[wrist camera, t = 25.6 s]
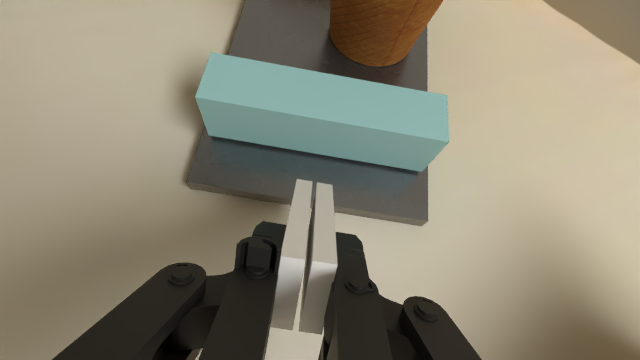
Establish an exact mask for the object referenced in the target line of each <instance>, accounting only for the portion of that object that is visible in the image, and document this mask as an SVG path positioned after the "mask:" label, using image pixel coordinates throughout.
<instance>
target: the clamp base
mask: <svg viewBox="0 0 640 360" xmlns="http://www.w3.org/2000/svg"><path fill="white" fill-rule="evenodd" d="M330 3H331V2H330V0H246V1H245V4H244V7H243V10H242V13H241V16H240V19H239V22H238V25H237V28H236V32H235V35H234V38H233V41H232V44H231V47H230V50H229V53H228V55H229V56H235V57H240V58H246V59H251V60H256V61H262V62H267V63H273V64H278V65H284V66H289V67H295V68H300V69H306V70H311V71H316V72H322V73H327V74H333V75H338V76H344V77H349V78H355V79H360V80H366V81H371V82H377V83H382V84H387V85H393V86H398V87H404V88H409V89H415V90H420V91H426V92H427V25H426V27H425V28H424V30H423V31H422V33H421V34H420V36H419V37H418V39H417V40H416V42H415V43H414V45H413V46H412V48H411V50H410V51H409V53H408V54H407V56H406V57H405V58H403V59H402V60H401V61H399V62H397V63H395V64H392V65H388V66H381V67H377V66H368V65H363V64H361V63H358V62H355V61H353V60H351V59H349V58H347V57H346V56H345V55H343V54H342V53H341V52H340V51H339V50H338V49H337V48H336V47H335V45H334V43H333V42H332V40H331V37H330V30H329V26H330ZM297 179H301V180H307V181H313V182H312V193H311V204H310V208H312V207H313V201H314V196H315V190H316V185H317V182H319V183H325V184H331V185H333V201H334V212H338V213H344V214H350V215H356V216H363V217H369V218H375V219H381V220H387V221H393V222H399V223H406V224H412V225H418V226H422V225H424V224H425V223H426V222H428V166H427V167H426V168H425V169H424V170H423V171H422V172H420V171H414V170H408V169H403V168H397V167H391V166H385V165H379V164H373V163H367V162H362V161H356V160H350V159H344V158H338V157H332V156H326V155H321V154H315V153H309V152H303V151H297V150H291V149H286V148H280V147H274V146H268V145H262V144H256V143H250V142H245V141H239V140H233V139H227V138H221V137H215V136H210V135H208V132H207V129H206V127H205V126H204V129H203V132H202V136H201V139H200V142H199V145H198V148H197V151H196V154H195V157H194V160H193V163H192V166H191V169H190V172H189V175H188V178H187V181H186V182H187V183H188V185H189V187H190V188H191V189H197V190H203V191H209V192H215V193H221V194H227V195H234V196H240V197H246V198H252V199H258V200H264V201H270V202H277V203H283V204H289V205H291V204H292V199H293V195H294V190H295V186H296V181H297Z"/></svg>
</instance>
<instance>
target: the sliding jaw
mask: <svg viewBox="0 0 640 360" xmlns="http://www.w3.org/2000/svg"><path fill="white" fill-rule="evenodd" d="M195 99H196V101H197V104H198V107H199V110H200V113H201V115H202V118H203V121H204V124H205V127H206V129H207V132H208V135H210V136H215V137H221V138H227V139H233V140H239V141H245V142H250V143H256V144H262V145H268V146H274V147H280V148H286V149H291V150H297V151H303V152H309V153H315V154H321V155H326V156H332V157H338V158H344V159H350V160H356V161H362V162H367V163H373V164H379V165H385V166H391V167H397V168H403V169H408V170H414V171H420V172H422V171H423V170H424V169H425V168H426V167H427V166H428V164H429V163H430V162H431V161H432V160H433V159H434V158H435V157H436V156H437V155H438V153H439V152H440V151H441V150H442V149H443V148H444V147H445V146H446V145H447V144H448V142H449V129H448V100H447V95H442V94H437V93H431V92H426V91H420V90H415V89H409V88H404V87H398V86H393V85H387V84H382V83H377V82H371V81H366V80H360V79H355V78H349V77H344V76H338V75H333V74H327V73H322V72H316V71H311V70H306V69H300V68H295V67H289V66H284V65H278V64H273V63H267V62H262V61H256V60H251V59H246V58H240V57H235V56H229V55H224V54H218V53H213V52H211V54H210V57H209V59H208V62H207V65H206V68H205V71H204V73H203V76H202V79H201V82H200V85H199V87H198V90H197V93H196V96H195Z"/></svg>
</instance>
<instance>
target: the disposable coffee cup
mask: <svg viewBox="0 0 640 360" xmlns="http://www.w3.org/2000/svg"><path fill="white" fill-rule="evenodd" d="M330 2H331V3H330V26H329V30H330V37H331V40H332V42H333V43H334V45H335V47H336V48H337V49H338V50H339V51H340V52H341V53H342V54H343V55H345V56H346V57H347V58H349V59H351V60H353V61H355V62H358V63H361V64H363V65H368V66H377V67H381V66H388V65H392V64H395V63H397V62H399V61H401V60H402V59H403V58H405V57H406V56H407V54H408V53H409V51H410V50H411V48H412V46H413V45H414V43H415V42H416V40H417V39H418V37H419V36H420V34H421V33H422V31H423V30H424V28H425V27H426V25H427V24H428V22H429V21H430V19H431V18H432V16H433V15H434V14H435V12H436V11H437V9H438V8H439V6H440V5H441V3H442V2H443V0H330Z"/></svg>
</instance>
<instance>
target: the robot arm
mask: <svg viewBox="0 0 640 360" xmlns="http://www.w3.org/2000/svg"><path fill="white" fill-rule="evenodd" d="M312 182H313V181H307V180H301V179H297V181H296V186H295V190H294V195H293V199H292V204H291V208H290V213H289V218H288V222H287V225H284V224H277V223H271V222H265V221H263V222H261V223H260V224H259V225H257V226H256V227H255V229H254V232H253V235H252V237H247V238H245V239H243V240H241V241H240V242H239V243H238V244H237V249H236V259H235V268H234V271H232V272H230V273H227V274H223V275H215V276H206V272H205V271H204V269H203V268H202V267H200V266H198V265H196V264H192V263H176V264H172V265H169V266H167V267H165V268H163V269H162V270H160V271H159V272H158V273H156V274H155V275H154V276H153V277H152V278H150V279H149V280H148V281H147V282H146V283H144V284H143V285H142V286H141V287H139V288H138V289H137V290H136V291H135V292H133V293H132V294H131V295H130V296H129V297H127V298H126V299H125V300H124V301H123V302H121V303H120V304H119V305H118V306H116V307H115V308H114V309H113V310H112V311H110V312H109V313H108V314H107V315H106V316H104V317H103V318H102V319H101V320H99V321H98V322H97V323H96V324H95V325H93V326H92V327H91V328H90V329H89V330H87V331H86V332H85V333H84V334H83V335H81V336H80V337H79V338H78V339H76V340H75V341H74V342H73V343H72V344H70V345H69V346H68V347H67V348H66V349H64V350H63V351H62V352H61V353H59V354H58V355H57V356H56V357H55V358H53V359H52V360H195V358H196V357H197V355H198V354H199V352H200V350H201V348H203V350H202V352H201V355H200V357H199V360H264V359H265V353H266V347H267V342H268V336H269V329H270V327H273V328H280V329H287V330H292V329H293V324H294V318H295V313H296V308H297V302H298V297H299V292H300V286H301V281H302V276H303V270H304V280H303V291H302V302H301V313H300V323H299V331H301V332H308V333H315V334H322V331H323V327H324V337H323V341H322V346H321V350H320V354H319V359H318V360H482V359H481V358H480V357H479V355H478V354H477V353H476V351H475V350H474V349H473V347H472V346H471V345H470V343H469V342H468V341H467V339H466V338H465V337H464V335H463V334H462V333H461V331H460V330H459V329H458V327H457V326H456V325H455V323H454V322H453V321H452V319H451V318H450V317H449V315H448V314H447V313H446V311H445V310H444V309H443V308H442V307H441V306H440V305H438V304H437V303H435V302H434V301H432V300H429V299H427V298H424V297H417V296H414V297H409V298H407V299H406V300H405V301H404V304H403V305H401V304H399V303H396V302H393V301H391V300H389V299H386V298H384V297H383V296H381V295H380V294H379V292H378V288H377V286H376V284H375V283H374V282H373V281H372V280H370V279H369V275H368V270H367V265H366V260H365V255H364V252H363V245H362V242H361V241H360V240H359V239H358V237H357V236H356V235H352V234H346V233H339V232H335V217H334V201H333V185H331V184H325V183H319V182H317V185H316V190H315V196H314V201H313V207H312V212H311V218H310V223H309V215H310V204H311V193H312ZM308 226H309V228H308ZM304 265H305V269H304Z"/></svg>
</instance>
